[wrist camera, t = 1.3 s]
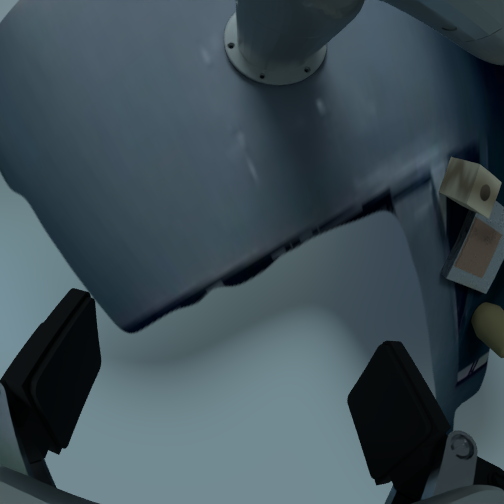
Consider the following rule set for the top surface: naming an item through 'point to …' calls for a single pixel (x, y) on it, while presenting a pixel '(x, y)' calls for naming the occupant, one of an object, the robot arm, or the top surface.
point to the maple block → (470, 186)
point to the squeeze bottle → (490, 326)
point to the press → (477, 250)
